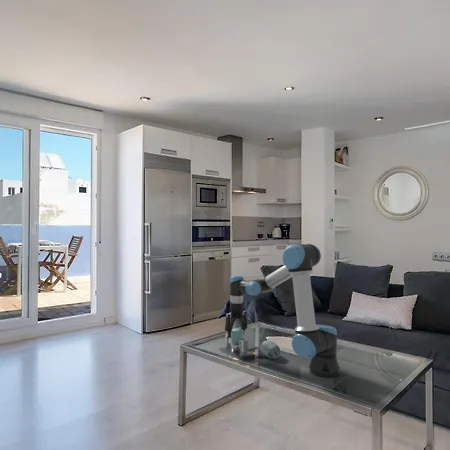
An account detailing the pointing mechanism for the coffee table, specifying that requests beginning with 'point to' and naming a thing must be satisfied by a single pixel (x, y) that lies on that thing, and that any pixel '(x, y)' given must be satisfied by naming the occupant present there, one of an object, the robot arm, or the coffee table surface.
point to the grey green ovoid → (270, 349)
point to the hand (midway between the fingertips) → (236, 341)
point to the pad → (251, 347)
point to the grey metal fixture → (236, 348)
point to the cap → (236, 335)
